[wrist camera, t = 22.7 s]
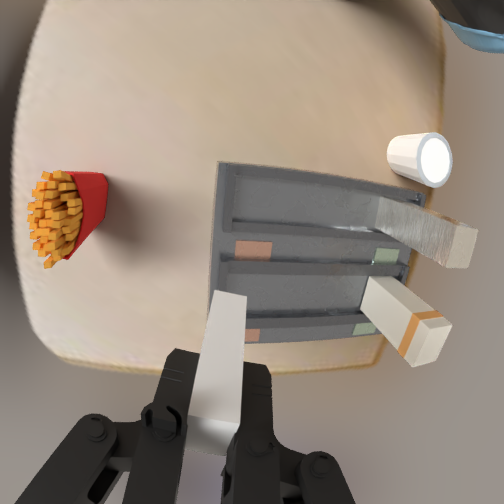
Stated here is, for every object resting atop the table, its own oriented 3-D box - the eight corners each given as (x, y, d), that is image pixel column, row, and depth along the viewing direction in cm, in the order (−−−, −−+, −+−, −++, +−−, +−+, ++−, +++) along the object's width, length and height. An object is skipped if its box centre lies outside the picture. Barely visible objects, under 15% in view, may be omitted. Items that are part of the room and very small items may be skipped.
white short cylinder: (411, 125, 33) (446, 126, 26) (423, 170, 35) (457, 177, 29) (376, 139, 33) (410, 140, 26) (391, 186, 35) (424, 196, 29)
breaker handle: (368, 275, 36) (429, 328, 24) (392, 275, 37) (453, 324, 25) (359, 309, 37) (411, 367, 25) (382, 307, 38) (435, 361, 26)
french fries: (104, 234, 31) (63, 276, 20) (75, 229, 30) (27, 267, 19) (112, 163, 29) (68, 172, 17) (82, 159, 28) (29, 168, 17)
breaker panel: (217, 161, 31) (232, 172, 16) (410, 189, 36) (497, 218, 21) (206, 330, 38) (215, 425, 23) (375, 323, 43) (431, 385, 29)
